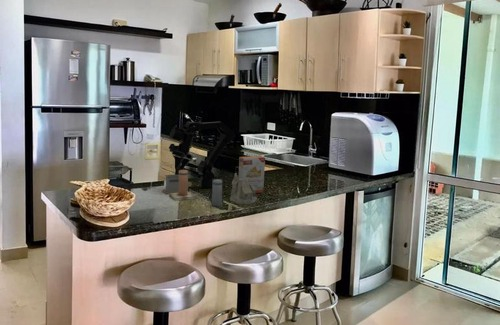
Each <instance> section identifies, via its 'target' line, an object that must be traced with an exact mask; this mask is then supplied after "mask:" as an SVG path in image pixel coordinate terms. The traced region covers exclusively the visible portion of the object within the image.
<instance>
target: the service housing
mask: <svg viewBox="0 0 500 325" xmlns="http://www.w3.org/2000/svg"><path fill="white" fill-rule="evenodd" d="M162 193H164V194H165V195H169V193H179V174H165V189H162Z"/></svg>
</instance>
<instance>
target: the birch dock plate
mask: <svg viewBox="0 0 500 325" xmlns="http://www.w3.org/2000/svg"><path fill="white" fill-rule="evenodd" d="M168 197H169V198H171V199H173V201H175V202H177V201H188V200H197V199H198V196H197V195H196V194H195V193H193V192H191V191H188V195H179V193H169V194H168Z"/></svg>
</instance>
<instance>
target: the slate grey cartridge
mask: <svg viewBox="0 0 500 325" xmlns="http://www.w3.org/2000/svg"><path fill="white" fill-rule="evenodd" d="M212 187H213V188H211V189H212V196H211V200H212V201H211V206H212V207H221V206H223V205H222V201H223V200H222V199H223V179H220V178H219V179H217V178H216V179H214V178H213V179H212Z"/></svg>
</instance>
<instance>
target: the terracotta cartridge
mask: <svg viewBox="0 0 500 325" xmlns="http://www.w3.org/2000/svg"><path fill="white" fill-rule="evenodd" d="M178 175H179V195H188V192H189V191H188V188H189V187H188V186H189V185H188V183H189V181H188V180H189V178H188V177H189V170H187V169H183V170H180V169H178Z"/></svg>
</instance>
